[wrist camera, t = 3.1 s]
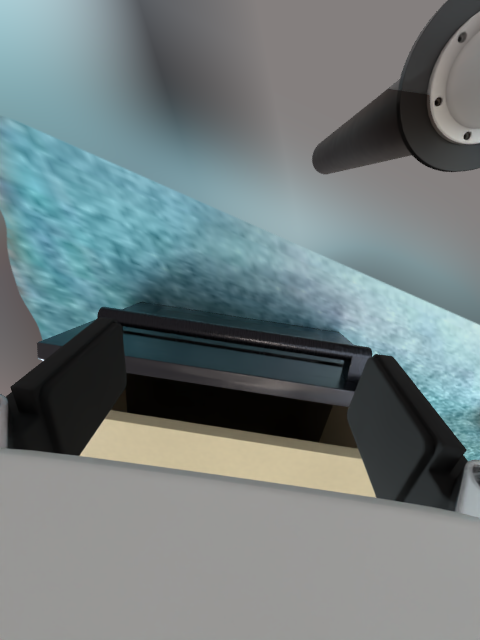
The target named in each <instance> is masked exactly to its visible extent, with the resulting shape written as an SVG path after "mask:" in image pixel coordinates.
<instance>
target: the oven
mask: <svg viewBox="0 0 480 640" xmlns="http://www.w3.org/2000/svg"><path fill="white" fill-rule="evenodd" d="M126 375H127V384H126V388H125V390H124V391H123V393H122V394H121V396H120V397H119V399H118V400H117V401H116V403H115V404H114V406H113V407H112V409H111V410H110V412H109V413H108V415H107V416H106V418H105V419H104V420H103V422H102V423H101V425H100V426H99V428H98V429H97V431H96V432H95V434H94V435H93V437H92V438H91V439H90V441H89V442H88V444H87V445H86V447H85V448H84V450H83V451H82V453H81V454H80V456H84V457H92V458H99V459H107V460H114V461H121V462H129V463H136V464H144V465H151V466H158V467H166V468H173V469H180V470H187V471H195V472H202V473H209V474H216V475H223V476H230V477H237V478H244V479H251V480H258V481H265V482H272V483H279V484H286V485H293V486H300V487H307V488H313V489H320V490H327V491H334V492H341V493H347V494H354V495H361V496H368V497H374V498H375V497H376V495H375V493H374V490H373V487H372V484H371V482H370V479H369V476H368V474H367V471H366V468H365V466H364V463H363V460H362V458H361V455H360V452H359V450H358V447H357V444H356V442H355V439H354V436H353V434H352V431H351V428H350V426H349V423H348V420H347V411H348V408H349V407H344V406H337V405H331V404H324V403H318V402H311V401H305V400H299V399H292V398H286V397H279V396H273V395H266V394H260V393H253V392H247V391H241V390H234V389H228V388H221V387H215V386H208V385H202V384H196V383H189V382H183V381H176V380H170V379H163V378H157V377H150V376H144V375H138V374H131V373H126Z"/></svg>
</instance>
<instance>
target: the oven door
mask: <svg viewBox="0 0 480 640" xmlns="http://www.w3.org/2000/svg"><path fill="white" fill-rule="evenodd" d="M99 317H100V318H108V319H115V320H117V322H118V324H121V326H122V332H123V343H124V354H125V364H126V373H131V374H138V375H144V376H150V377H157V378H163V379H170V380H176V381H183V382H189V383H196V384H202V385H208V386H215V387H221V388H228V389H234V390H241V391H247V392H253V393H260V394H266V395H273V396H279V397H286V398H292V399H299V400H305V401H311V402H318V403H324V404H331V405H337V406H344V407H349V405H350V403H351V400H352V398H353V395H354V392H355V390H356V387H357V385H358V382H359V380H360V377H361V374H362V372H363V369H364V367H365V364H366V362H367V360H368V358H370V357H372V350H371V348H369V347H363V346H357V345H353V344H352V343H351V342H350V341H349V340H348V339H346V338H345V337H344V336H343V335H342V334H340V333H339V332H334V331H328V330H321V329H315V328H308V327H302V326H295V325H289V324H282V323H275V322H269V321H262V320H256V319H249V318H243V317H236V316H230V315H223V314H217V313H210V312H203V311H197V310H190V309H184V308H177V307H171V306H164V305H158V304H151V303H145V302H140V303H137V304H135V305H132V306H130V307H127V308H125V309H115V308H109V307H101V308H100V310H99V312H98V318H99ZM94 321H95V320H94ZM94 321H91V322H89V323H86V324H84V325H81V326H79V327H76V328H73V329H71V330H68V331H66V332H63V333H61V334H58V335H56V336H53V337H50V338H48V339H45V340H43V341H40V342H38V343H37V348H38V349H37V350H38V359H42V360H45V359H47V358H48V357H49V356H50V355H52V354H53V353H54V352H56V351H57V350H58V349H59V348H61V347H62V346H63V345H64V344H66V343H67V342H68V341H70V340H71V339H72V338H73V337H75V336H76V335H77V334H78V333H80V332H81V331H82V330H84V329H85V328H86V327H87V326H89V325H90V324H91V323H92V322H94Z"/></svg>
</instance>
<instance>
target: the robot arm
mask: <svg viewBox="0 0 480 640" xmlns="http://www.w3.org/2000/svg"><path fill="white" fill-rule="evenodd" d="M458 39H459V42H458ZM435 102H436V105H435V104H434V103H435ZM427 109H428V116H429V118H430V121H431V124H432V126H433V127H434V129H435V130H436V132H437V133H438V134H439V135H440V136H441V137H442V138H444V139H445V140H447V141H449V142H451V143H455V144H459V145H473V144H478V143H480V12H478V13H477V14H475V15H474V16H473V17H471V18H470V19H469V20H468V21H467V22H466V23H464V24H463V25H462V26H461V27H460V28H459V29H458V30H457V31H456V33H455V34H454V35H453V36H452V37H451V38H450V39H449V41H448V42H447V44H446V45H445V47H444V48H443V50H442V51H441V53H440V55H439V57H438V59H437V61H436V63H435V65H434V68H433V71H432V74H431V76H430V80H429V85H428V90H427ZM463 137H464V138H463ZM126 384H127V375H126V364H125V354H124V343H123V332H122V326H121V324H118V322H117V320H115V319H108V318H100V317H99V318H98V319H96V320H95V321H94V322H92V323H91V324H90V325H89V326H87V327H86V328H85V329H84V330H82V331H81V332H80V333H78V334H77V335H76V336H75V337H73V338H72V339H71V340H70V341H68V342H67V343H66V344H64V345H63V346H62V347H61V348H59V349H58V350H57V351H56V352H54V353H53V354H52V355H50V356H49V357H48V358H47V359H45V360H44V361H43V362H42V363H40V364H39V365H38V366H36V367H35V368H34V369H33V370H31V371H30V372H29V373H28V374H26V375H25V376H24V377H23V378H21V379H20V380H19V381H18V382H16V383H15V384H14V385H12V386H11V390H12V392H11V393H10V394H9V395H7V396H6V397H5V396H3V395H2V394H0V640H480V460H471V461H467V460H466V458H465V457H464V456H463V454H464V453H465V451H466V449H465V447H464V446H463V445H462V444H461V442H460V441H459V440H458V439H457V437H456V436H455V435H454V433H453V432H452V431H451V430H450V428H449V427H448V426H447V425H446V423H445V422H444V421H443V420H442V418H441V417H440V416H439V414H438V413H437V412H436V411H435V409H434V408H433V407H432V406H431V404H430V403H429V402H428V400H427V399H426V398H425V397H424V395H423V394H422V393H421V392H420V390H419V389H418V388H417V387H416V385H415V384H414V383H413V381H412V380H411V379H410V378H409V376H408V375H407V374H406V373H405V371H404V370H403V369H402V368H401V366H400V365H399V364H398V362H397V361H396V360H395V359H394V358H393V357H392V356H386V355H378V354H375V355H374V356H373V357H370V358H368V360H367V362H366V364H365V367H364V369H363V372H362V374H361V377H360V380H359V382H358V385H357V387H356V390H355V392H354V395H353V398H352V400H351V403H350V405H349V408H348V411H347V420H348V423H349V426H350V428H351V431H352V434H353V436H354V439H355V442H356V444H357V447H358V450H359V452H360V455H361V458H362V460H363V463H364V466H365V468H366V471H367V474H368V476H369V479H370V482H371V484H372V487H373V490H374V493H375V495H376V498H374V497H368V496H361V495H354V494H347V493H341V492H334V491H327V490H320V489H313V488H307V487H300V486H293V485H286V484H279V483H272V482H265V481H258V480H251V479H244V478H237V477H230V476H223V475H216V474H209V473H202V472H195V471H187V470H180V469H173V468H166V467H158V466H151V465H144V464H136V463H129V462H121V461H114V460H107V459H99V458H92V457H84V456H80V454H81V453H82V451H83V450H84V448H85V447H86V445H87V444H88V442H89V441H90V439H91V438H92V437H93V435H94V434H95V432H96V431H97V429H98V428H99V426H100V425H101V423H102V422H103V420H104V419H105V418H106V416H107V415H108V413H109V412H110V410H111V409H112V407H113V406H114V404H115V403H116V401H117V400H118V399H119V397H120V396H121V394H122V393H123V391H124V390H125V388H126Z"/></svg>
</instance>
